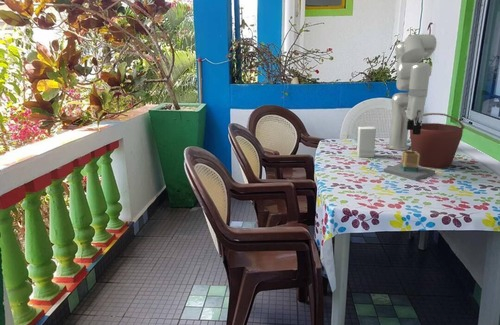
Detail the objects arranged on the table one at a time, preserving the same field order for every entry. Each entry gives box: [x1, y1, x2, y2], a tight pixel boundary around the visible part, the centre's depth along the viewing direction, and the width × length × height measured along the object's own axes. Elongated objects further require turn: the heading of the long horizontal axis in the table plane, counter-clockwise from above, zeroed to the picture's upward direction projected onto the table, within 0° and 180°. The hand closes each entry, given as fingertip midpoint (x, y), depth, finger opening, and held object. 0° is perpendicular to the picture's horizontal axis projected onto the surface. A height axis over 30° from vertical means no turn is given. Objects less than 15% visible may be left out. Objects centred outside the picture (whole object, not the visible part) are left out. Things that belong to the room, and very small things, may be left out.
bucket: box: [409, 112, 466, 170], centre depth 186 cm, size 24×22×25 cm
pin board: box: [382, 163, 436, 181], centre depth 174 cm, size 16×16×6 cm
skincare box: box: [356, 126, 377, 158], centre depth 202 cm, size 8×7×16 cm
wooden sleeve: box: [400, 150, 420, 172], centre depth 174 cm, size 6×6×8 cm
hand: (413, 132), depth 170 cm, fingers open, 9 cm apart
